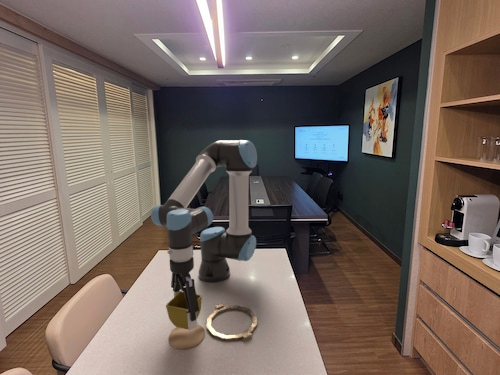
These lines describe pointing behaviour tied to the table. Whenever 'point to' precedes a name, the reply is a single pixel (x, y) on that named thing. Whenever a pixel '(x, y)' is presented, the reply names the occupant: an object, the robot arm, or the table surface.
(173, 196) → the robot arm
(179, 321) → the flower pot
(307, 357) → the table surface
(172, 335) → the coaster
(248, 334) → the socket ring
